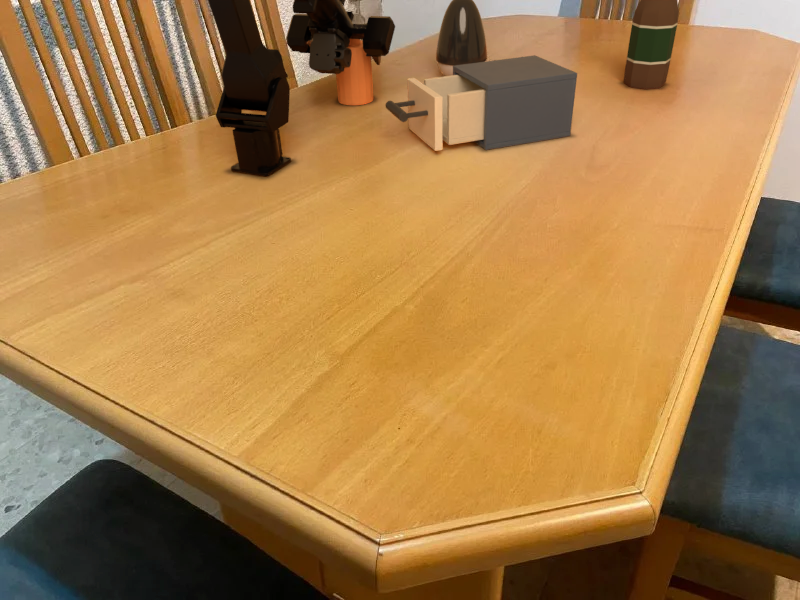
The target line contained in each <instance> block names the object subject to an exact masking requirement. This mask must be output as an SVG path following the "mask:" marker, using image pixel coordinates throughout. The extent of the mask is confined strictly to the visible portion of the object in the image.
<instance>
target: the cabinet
mask: <svg viewBox="0 0 800 600" xmlns="http://www.w3.org/2000/svg"><path fill="white" fill-rule="evenodd" d="M458 74H460V75H461V76H463V77H465V78H467V79H468V80H470V81H472V82H474V83H475V84H477V85H479V86H481V87H482V88H484V89H486V92H485V118H484V139H483V140H477V141H473V142H474V143H475V144H476V145H478V146H479V147H481V148H482V149H483V150H484V151H488V150H489V151H490V150H494V149H502V148H507V147H513V146H518V145H525V144H530V143H536V142H543V141H549V140H554V139H560V138H561V139H562V138H566V137H571V131H572V123H573V114H574V107H575V98H576V90H577V89H576V88H577V79H578V72H576V71H573V70H571V69H569V68H566V67H564V66H561V65H559V64H557V63H555V62H553V61H550V60H547V59H544V58H542V57H540V56H539V55H538V56H537V55H535V54H534V55H527V56H519V57H511V58H504V59H503V58H502V59H497V60H496V59H495V60H488V61H487V60H486V61H485V62H479V63H471V64H463V65H455V66H453V75H458Z"/></svg>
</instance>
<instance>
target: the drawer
mask: <svg viewBox="0 0 800 600" xmlns="http://www.w3.org/2000/svg"><path fill="white" fill-rule="evenodd" d="M406 80H407V81H406V82H407V100H406V101H400V102H394V101H393V100H388V101H386V103H385V109H386V110H388V112H390V113H391V114H392V115H393V116H394V117H395V118H396V119H397V120H399V121H400V122H401V123H405V122H407V121H408V129H410V131H411V132H413V134H415V135H416V136H417V137H418V138H420V139H421V140H422V141H423V142H424V143H425V144H426V145H428V147H430V148H431V149H432V150H433V151H434V152H437V151H443V142H444V143H446V144H447V145H449V146H452V145H457V144H458V145H459V144H464V143H470V142H474V141H477V140H483V139H484V118H485V92H486V89H484V88H482V87H481V86H479V85H477V84H475V83H474V82H472V81H470V80H468V79H467V78H465V77H463V76H461V75H460V74H458V75H451V76H444V75H443V76H437V77H429V78H424V79H423V82H421V81H420V80H419V79H417V78H415V77H410V78H407V79H406ZM404 107H407V112H406V111H405V110H404V109H403V108H404Z"/></svg>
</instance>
